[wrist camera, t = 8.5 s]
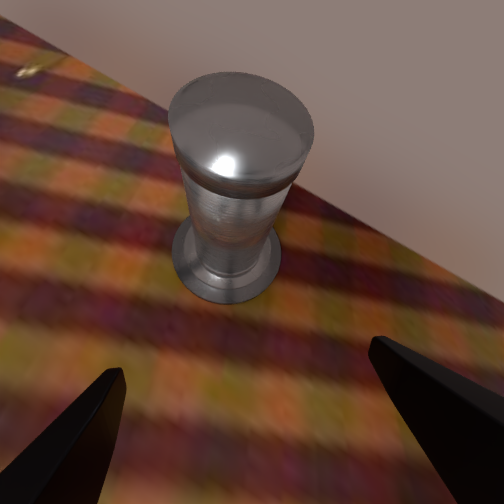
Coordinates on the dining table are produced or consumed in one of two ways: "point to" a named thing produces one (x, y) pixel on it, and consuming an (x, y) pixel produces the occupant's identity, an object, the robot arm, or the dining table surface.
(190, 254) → the silver flat disc
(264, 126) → the grey piece
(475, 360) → the dining table surface
